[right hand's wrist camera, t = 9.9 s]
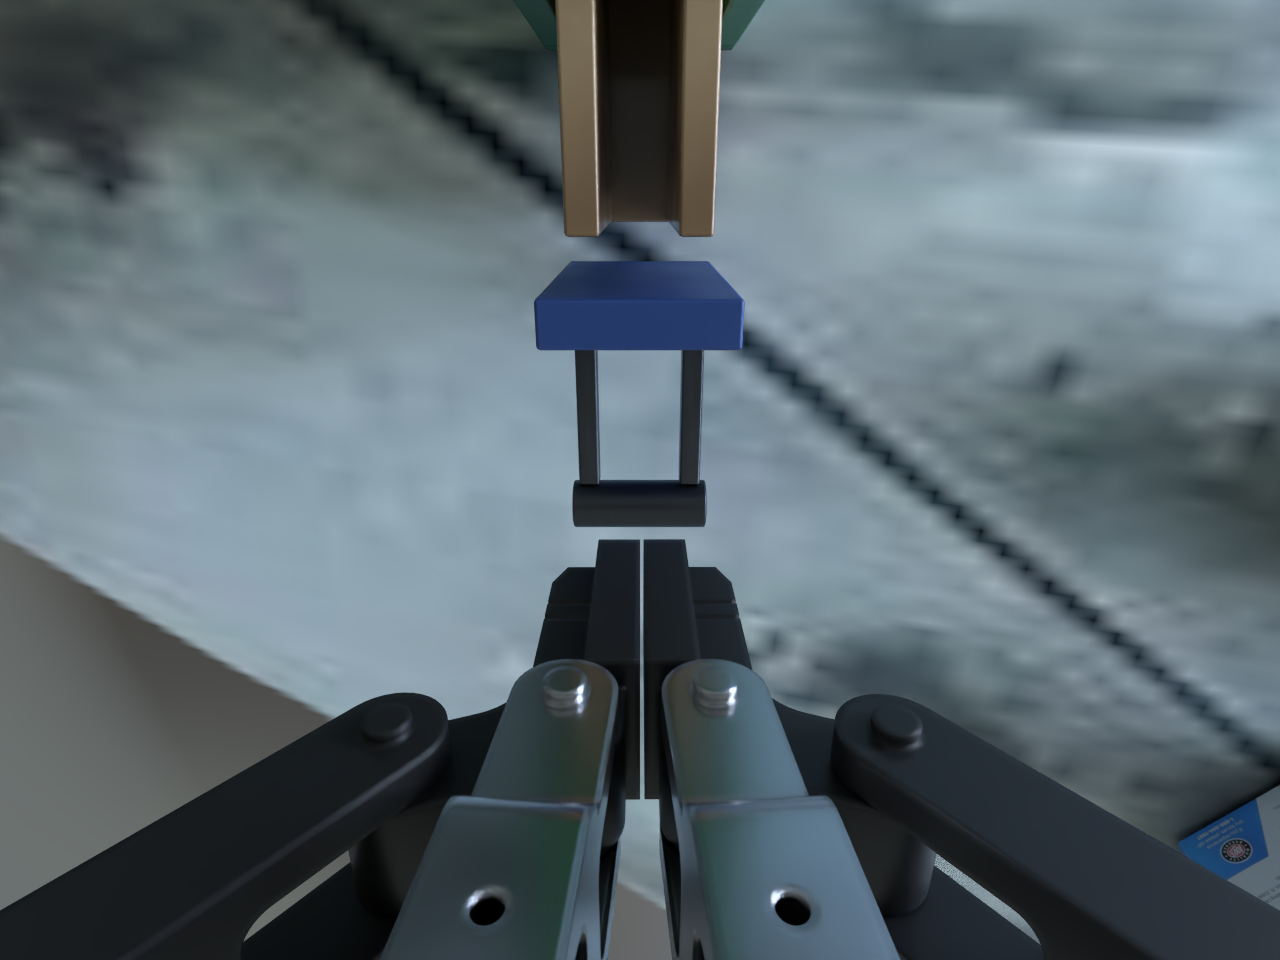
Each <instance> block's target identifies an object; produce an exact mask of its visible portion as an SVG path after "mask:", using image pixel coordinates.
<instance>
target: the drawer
mask: <svg viewBox="0 0 1280 960" xmlns="http://www.w3.org/2000/svg"><path fill="white" fill-rule="evenodd" d="M555 5H556V31H557V57H558V82H559V108H560V133H561V159H562V185H563V210H564V233H565V235H566V236H568V237H597V236H599V235H600V233H601V232H602V231H603V230H604V229H605V228H606V227H607V225H608V224H609V223H610V222H669V223H670V224H671V225H672V227H673V228H674V229H675V230H676V231H677V233H678V234H679V235H680V236H682V237H711V236H713V234H714V220H715V194H716V167H717V141H718V114H719V88H720V61H721V34H722V8H723V0H555ZM744 304H745V303H744V300H743V299H742V298H741V297H740V295H739V294H738V293H737V292H736V291H735V290H734V289H733V288H732V287H731V286H730V285H729V283H728V282H727V281H726V280H725V279H724V278H723V277H722V276H721V275H720V274H719V273H718V271H717V270H716V269H715V268H714V267H713V266H712V265H711V264H710V263H709V262H707V261H572V262H570V263H569V264H568V265H567V266H566V267H565V269H564V270H563V271H562V272H561V273H560V274H559V275H558V276H557V277H556V278H555V279H554V280H553V281H552V282H551V283H550V284H549V286H548V287H547V288H546V289H545V290H544V291H543V292H542V293H541V294H540V295H539V296H538V297H537V298H536V299H535V301H534V313H535V331H536V347H537V349H539V350H575V366H576V394H577V422H578V450H579V478H580V480H575V482H574V486H573V522H574V526H575V527H704V526H705V523H706V507H707V501H706V485H705V481H704V480H700V451H701V422H702V393H703V364H704V350H740V349H741V348H742V340H743V322H744ZM597 350H682V352H681V396H680V441H679V480H600V438H599V396H598V353H597Z"/></svg>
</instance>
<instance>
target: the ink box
mask: <svg viewBox="0 0 1280 960" xmlns="http://www.w3.org/2000/svg"><path fill="white" fill-rule="evenodd" d="M1178 847H1179V849H1180V850H1181V851H1182V852H1183V853H1184V855H1185V856H1186V857H1187V858H1189V859H1191V860H1193V861H1194V862H1196V863H1198V864H1200V865H1201V866H1203V867H1205V868H1207V869H1208V870H1210V871H1212V872H1214V873H1215V874H1217V875H1219V876H1221V877H1222V878H1224V879H1226V880H1228V881H1229V882H1231V883H1233V884H1234V885H1236V886H1238V887H1240V888H1241V889H1243V890H1245V891H1247V892H1248V893H1250V894H1252V895H1254V896H1255V897H1257V898H1259V899H1261V900H1262V901H1264V902H1266V903H1268V904H1269V905H1271V906H1273V907H1275V908H1276V909H1278V910H1280V785H1279V786H1277V787H1275V788H1273V789H1271V790H1270V791H1268V792H1266V793H1264V794H1263V795H1261V796H1259V797H1257V798H1256V799H1254V800H1252V801H1250V802H1249V803H1247V804H1245V805H1243V806H1242V807H1240V808H1238V809H1236V810H1234V811H1233V812H1231V813H1229V814H1228V815H1226V816H1224V817H1222V818H1220V819H1219V820H1217V821H1215V822H1213V823H1211V824H1210V825H1208V826H1206V827H1204V828H1203V829H1201V830H1199V831H1197V832H1195V833H1194V834H1192V835H1190V836H1188V837H1186V838H1185V839H1183V840H1181V841H1179V843H1178Z"/></svg>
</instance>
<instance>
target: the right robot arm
mask: <svg viewBox="0 0 1280 960" xmlns="http://www.w3.org/2000/svg"><path fill="white" fill-rule="evenodd" d="M643 654H644V782H645V799H659V808H660V860H661V868H662V877H663V885H664V894H665V902H666V911H667V919H668V927H669V936H670V944H671V953H672V960H1280V910H1278V909H1276V908H1275V907H1273V906H1271V905H1269V904H1268V903H1266V902H1264V901H1262V900H1261V899H1259V898H1257V897H1255V896H1254V895H1252V894H1250V893H1248V892H1247V891H1245V890H1243V889H1241V888H1240V887H1238V886H1236V885H1234V884H1233V883H1231V882H1229V881H1228V880H1226V879H1224V878H1222V877H1221V876H1219V875H1217V874H1215V873H1214V872H1212V871H1210V870H1208V869H1207V868H1205V867H1203V866H1201V865H1200V864H1198V863H1196V862H1194V861H1193V860H1191V859H1189V858H1187V857H1186V856H1184V855H1182V854H1181V853H1179V852H1177V851H1175V850H1174V849H1172V848H1170V847H1168V846H1167V845H1165V844H1163V843H1161V842H1160V841H1158V840H1156V839H1154V838H1153V837H1151V836H1149V835H1147V834H1146V833H1144V832H1142V831H1140V830H1139V829H1137V828H1135V827H1134V826H1132V825H1130V824H1128V823H1127V822H1125V821H1123V820H1121V819H1120V818H1118V817H1116V816H1114V815H1113V814H1111V813H1109V812H1107V811H1106V810H1104V809H1102V808H1100V807H1099V806H1097V805H1095V804H1093V803H1092V802H1090V801H1088V800H1087V799H1085V798H1083V797H1081V796H1080V795H1078V794H1076V793H1074V792H1073V791H1071V790H1069V789H1067V788H1066V787H1064V786H1062V785H1060V784H1059V783H1057V782H1055V781H1053V780H1052V779H1050V778H1048V777H1046V776H1045V775H1043V774H1041V773H1039V772H1038V771H1036V770H1034V769H1033V768H1031V767H1029V766H1027V765H1026V764H1024V763H1022V762H1020V761H1019V760H1017V759H1015V758H1013V757H1012V756H1010V755H1008V754H1006V753H1005V752H1003V751H1001V750H999V749H998V748H996V747H994V746H992V745H991V744H989V743H987V742H986V741H984V740H982V739H980V738H979V737H977V736H975V735H973V734H972V733H970V732H968V731H966V730H965V729H963V728H961V727H959V726H958V725H956V724H954V723H952V722H951V721H949V720H947V719H945V718H944V717H942V716H940V715H939V714H937V713H935V712H933V711H932V710H930V709H928V708H926V707H924V706H922V705H920V704H918V703H916V702H913V701H911V700H908V699H905V698H901V697H897V696H892V695H883V694H869V695H863V696H859V697H856V698H853V699H851V700H849V701H847V702H846V703H844V704H843V705H842V706H841V707H840V709H839V710H838V711H837V714H836V717H835V720H834V719H829V718H825V717H821V716H816V715H812V714H807V713H804V712H800V711H797V710H794V709H792V708H789V707H787V706H785V705H783V704H781V703H779V702H777V701H776V700H774V699H773V698H771V695H770V692H769V690H768V687H767V686H766V684H765V682H764V681H763V680H762V678H761V677H760V676H759V675H757V674H756V673H755V672H754V671H752V667H751V663H750V658H749V654H748V650H747V646H746V642H745V638H744V633H743V629H742V625H741V621H740V618H739V613H738V608H737V604H736V602H735V596H734V592H733V588H732V583H731V582H730V581H729V580H728V579H727V578H726V577H725V576H724V575H723V574H722V573H721V572H720V571H719V570H718V569H717V568H716V567H688V559H687V552H686V544H685V540H684V539H644V581H643ZM626 799H640V540H599V542H598V550H597V558H596V566H595V567H568V568H567V569H566V570H565V571H564V572H563V573H562V574H561V575H560V576H559V577H558V578H557V579H556V580H555V581H554V582H553V583H552V587H551V591H550V596H549V600H548V604H547V609H546V613H545V619H544V622H543V626H542V630H541V635H540V639H539V643H538V648H537V652H536V656H535V661H534V665H533V668H531V669H530V670H528V671H526V672H525V673H524V674H523V675H521V676H520V677H519V678H518V680H517V681H516V682H515V684H514V686H513V687H512V690H511V692H510V695H509V698H508V700H507V703H505V704H503V705H501V706H499V707H497V708H494V709H491V710H489V711H486V712H482V713H479V714H474V715H470V716H466V717H461V718H457V719H452V720H448V718H447V714H446V711H445V709H444V708H443V706H442V705H441V704H440V703H439V702H438V701H436V700H435V699H433V698H431V697H429V696H426V695H422V694H417V693H393V694H388V695H383V696H380V697H376V698H373V699H370V700H368V701H365V702H363V703H361V704H359V705H357V706H355V707H354V708H352V709H350V710H348V711H347V712H345V713H343V714H341V715H340V716H338V717H336V718H335V719H333V720H331V721H329V722H328V723H326V724H324V725H322V726H321V727H319V728H317V729H315V730H314V731H312V732H310V733H308V734H307V735H305V736H303V737H301V738H300V739H298V740H296V741H295V742H293V743H291V744H289V745H288V746H286V747H284V748H282V749H281V750H279V751H277V752H275V753H274V754H272V755H270V756H268V757H267V758H265V759H263V760H261V761H260V762H258V763H256V764H254V765H253V766H251V767H249V768H247V769H246V770H244V771H242V772H241V773H239V774H237V775H235V776H234V777H232V778H230V779H228V780H227V781H225V782H223V783H221V784H220V785H218V786H216V787H214V788H213V789H211V790H209V791H208V792H206V793H204V794H202V795H200V796H199V797H197V798H195V799H194V800H192V801H190V802H188V803H187V804H185V805H183V806H181V807H180V808H178V809H176V810H174V811H173V812H171V813H169V814H167V815H166V816H164V817H162V818H160V819H159V820H157V821H155V822H153V823H152V824H150V825H148V826H147V827H145V828H143V829H141V830H140V831H138V832H136V833H134V834H133V835H131V836H129V837H127V838H126V839H124V840H122V841H120V842H119V843H117V844H115V845H113V846H112V847H110V848H108V849H107V850H105V851H103V852H101V853H100V854H98V855H96V856H94V857H93V858H91V859H89V860H87V861H86V862H84V863H82V864H80V865H79V866H77V867H75V868H73V869H72V870H70V871H68V872H66V873H65V874H63V875H61V876H59V877H58V878H56V879H54V880H53V881H51V882H49V883H47V884H46V885H44V886H42V887H40V888H39V889H37V890H35V891H33V892H32V893H30V894H28V895H26V896H25V897H23V898H21V899H19V900H18V901H16V902H14V903H12V904H11V905H9V906H7V907H6V908H4V909H2V910H0V960H608V953H609V944H610V936H611V928H612V919H613V911H614V902H615V894H616V885H617V877H618V868H619V860H620V836H621V834H622V831H623V828H624V824H625V801H626ZM347 850H348V851H349V856H350V861H351V862H350V863H349V864H347V865H346V866H345V867H343V868H342V869H340V870H339V871H338V872H336V873H335V874H334V875H332V876H331V877H330V878H328V879H327V880H326V881H324V882H323V883H322V884H320V885H319V886H318V887H316V888H315V889H314V890H312V891H311V892H310V893H308V894H307V895H306V896H304V897H303V898H302V899H300V900H299V901H298V902H296V903H295V904H294V905H292V906H291V907H290V908H288V909H287V910H286V911H284V912H283V913H282V914H280V915H279V916H278V917H276V918H275V919H274V920H272V921H271V922H270V923H268V924H267V925H266V926H264V927H263V928H262V929H260V930H259V931H258V932H256V933H255V934H254V935H252V936H251V937H250V938H248V939H247V940H245V941H244V939H245V936H246V935H247V933H248V931H249V929H250V928H251V927H252V925H253V924H254V922H255V921H256V920H257V919H258V918H259V917H260V916H261V915H262V914H263V913H264V912H265V911H266V910H267V909H268V908H270V907H271V906H272V905H273V904H275V903H276V902H278V901H279V900H280V899H282V898H283V897H284V896H286V895H287V894H289V893H290V892H291V891H293V890H294V889H295V888H297V887H298V886H299V885H301V884H302V883H304V882H305V881H306V880H308V879H309V878H310V877H312V876H313V875H314V874H316V873H317V872H318V871H320V870H321V869H323V868H324V867H325V866H327V865H328V864H330V863H331V862H332V861H334V860H335V859H336V858H338V857H339V856H340V855H342V854H343V853H344V852H346V851H347ZM936 853H937V854H938V855H940V856H941V857H942V858H944V859H945V860H946V861H948V862H949V863H950V864H952V865H953V866H955V867H956V868H957V869H959V870H960V871H961V872H963V873H964V874H966V875H967V876H968V877H970V878H971V879H972V880H974V881H975V882H976V883H978V884H979V885H981V886H982V887H983V888H985V889H986V890H987V891H989V892H990V893H992V894H993V895H994V896H996V897H997V898H998V899H1000V900H1001V901H1002V902H1004V903H1005V904H1007V905H1008V906H1009V907H1011V908H1012V909H1013V910H1014V911H1016V912H1017V913H1018V914H1019V915H1020V916H1021V917H1022V918H1023V919H1024V920H1025V921H1026V922H1027V923H1028V924H1029V925H1030V927H1031V928H1032V929H1033V931H1034V932H1035V934H1036V936H1037V937H1038V939H1039V941H1040V944H1041V945H1040V944H1039V943H1037V942H1036V941H1035V940H1033V939H1032V938H1031V937H1029V936H1028V935H1026V934H1025V933H1024V932H1022V931H1021V930H1020V929H1018V928H1017V927H1016V926H1014V925H1013V924H1012V923H1010V922H1009V921H1008V920H1006V919H1005V918H1004V917H1002V916H1001V915H1000V914H998V913H997V912H996V911H994V910H993V909H992V908H990V907H989V906H988V905H986V904H985V903H984V902H982V901H981V900H980V899H978V898H977V897H976V896H974V895H973V894H972V893H970V892H969V891H968V890H966V889H965V888H964V887H962V886H961V885H960V884H958V883H957V882H956V881H954V880H953V879H952V878H950V877H949V876H948V875H946V874H945V873H944V872H942V871H941V870H940V869H938V868H937V867H936V866H934V862H935V858H936ZM243 941H244V942H243Z"/></svg>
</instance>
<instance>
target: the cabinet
mask: <svg viewBox="0 0 1280 960" xmlns="http://www.w3.org/2000/svg"><path fill="white" fill-rule="evenodd" d="M764 1H765V0H723V8H722V34H721V50H731V49H733V47H734V46H735V44H736V43H737V41H738V40H739V38H740V37H741V35H742V34H743V32H744V31H745V29H746V28H747V26H748V25H749V23H750V22H751V20H752V19H753V17H754V16H755V14H756V13H757V11H758V10H759V8H760V7H761V5H762V4H763V2H764ZM514 2H515V3H516V5H517V6H518V8H519V9H520V11H521V12H522V14H523V15H524V17H525V18H526V20H527V21H528V23H529V24H530V25H531V27H532V28H533V30H534V31H535V33H536V34H537V36H538V37H539V39H540V40H541V42H542V43H543V45H545V47H546V48H547V49H548V50H557V31H556V5H555V0H514Z"/></svg>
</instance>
